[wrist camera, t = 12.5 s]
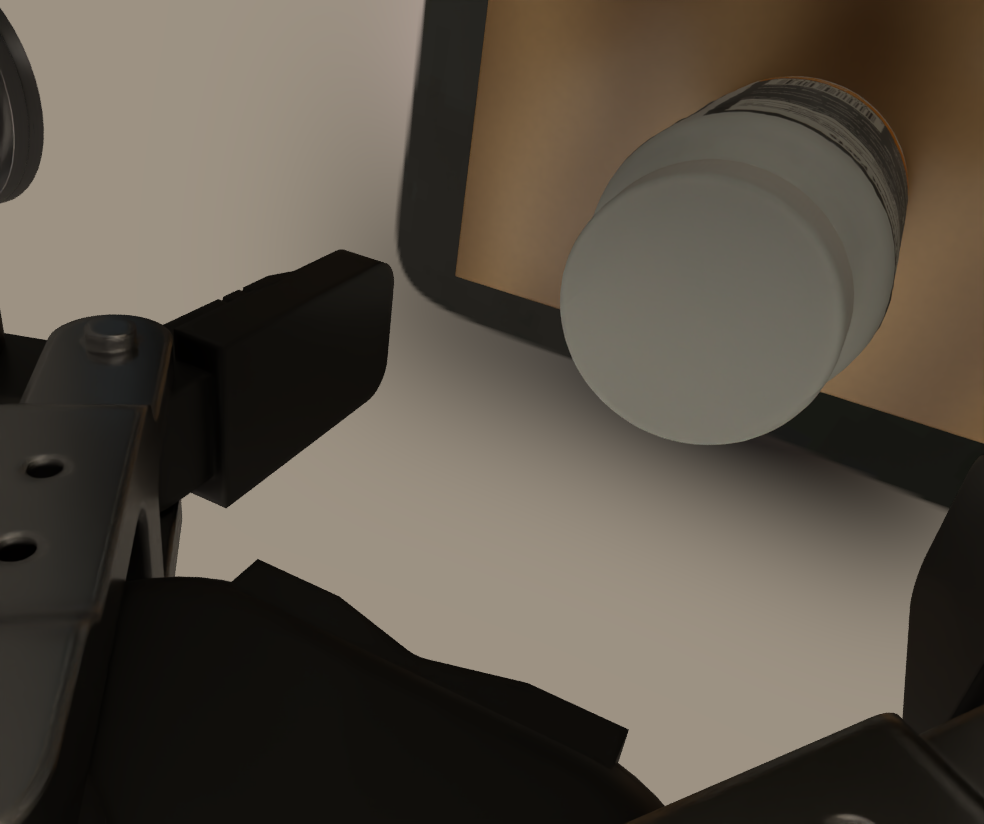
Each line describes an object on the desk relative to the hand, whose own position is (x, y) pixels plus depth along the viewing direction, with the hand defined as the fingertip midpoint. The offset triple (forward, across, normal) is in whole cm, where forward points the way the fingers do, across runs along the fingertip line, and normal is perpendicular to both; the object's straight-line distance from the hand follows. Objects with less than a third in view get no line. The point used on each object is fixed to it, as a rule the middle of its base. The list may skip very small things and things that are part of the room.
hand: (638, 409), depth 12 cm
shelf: (+20, 0, 0) cm, 20 cm away
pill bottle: (+13, 0, 0) cm, 13 cm away
